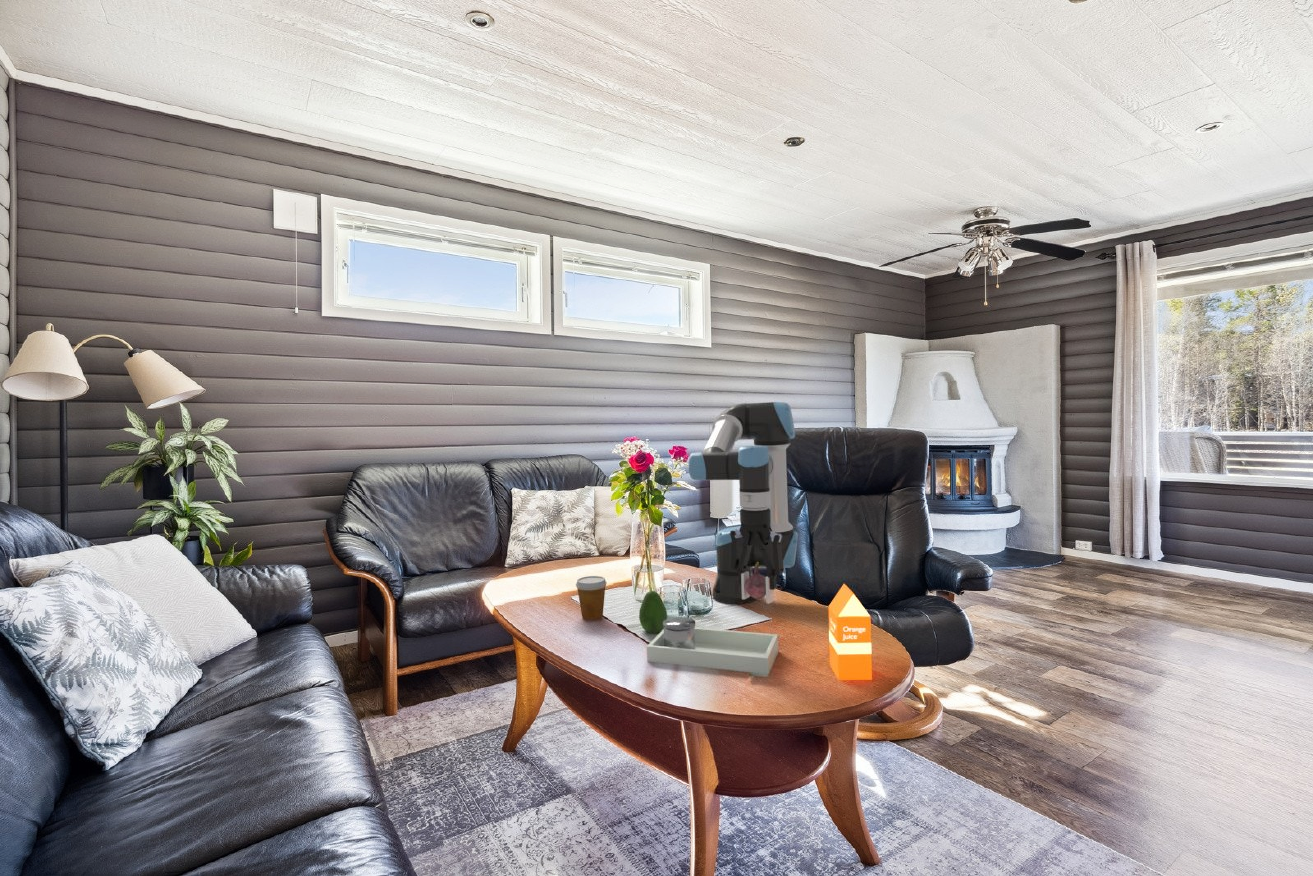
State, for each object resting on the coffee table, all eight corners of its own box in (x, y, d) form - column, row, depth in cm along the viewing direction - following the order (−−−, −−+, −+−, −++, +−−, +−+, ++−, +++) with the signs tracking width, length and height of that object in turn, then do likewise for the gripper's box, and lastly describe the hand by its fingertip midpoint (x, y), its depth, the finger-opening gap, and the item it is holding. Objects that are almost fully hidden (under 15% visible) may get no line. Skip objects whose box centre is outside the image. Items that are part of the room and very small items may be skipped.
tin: (669, 644, 166) (668, 616, 165) (700, 647, 163) (699, 618, 163) (659, 656, 158) (658, 626, 158) (690, 659, 155) (690, 629, 155)
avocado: (654, 626, 182) (652, 586, 182) (673, 632, 177) (671, 590, 176) (633, 634, 177) (632, 592, 176) (653, 640, 171) (651, 597, 171)
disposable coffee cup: (614, 616, 193) (612, 578, 192) (592, 625, 185) (590, 585, 185) (592, 611, 199) (591, 574, 198) (570, 619, 191) (569, 580, 191)
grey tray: (667, 641, 170) (667, 625, 170) (778, 652, 160) (778, 634, 160) (647, 664, 155) (646, 646, 155) (768, 677, 145) (767, 658, 145)
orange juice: (838, 680, 142) (836, 593, 141) (829, 664, 151) (827, 583, 150) (872, 679, 142) (871, 593, 141) (862, 664, 150) (860, 582, 150)
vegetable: (744, 604, 153) (743, 564, 153) (746, 597, 159) (745, 558, 159) (770, 605, 152) (768, 564, 152) (770, 597, 158) (769, 558, 158)
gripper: (714, 507, 157) (717, 598, 158) (784, 512, 146) (786, 610, 147) (729, 503, 163) (731, 590, 164) (797, 508, 152) (799, 601, 153)
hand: (757, 599), depth 156 cm, fingers closed on vegetable, 6 cm apart
